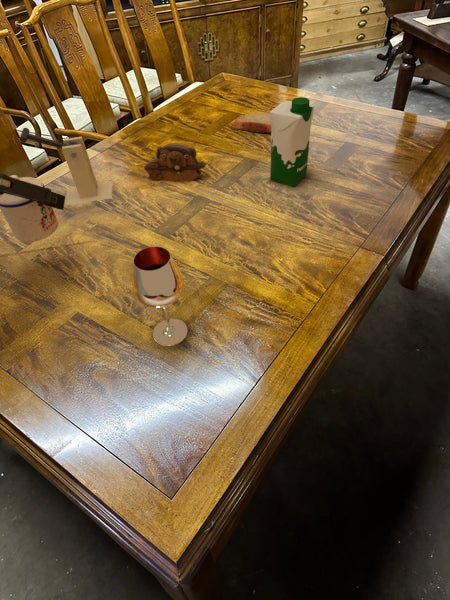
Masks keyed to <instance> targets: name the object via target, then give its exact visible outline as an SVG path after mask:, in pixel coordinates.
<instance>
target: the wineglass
mask: <svg viewBox="0 0 450 600" xmlns="http://www.w3.org/2000/svg"><path fill="white" fill-rule="evenodd" d="M131 273H132V275H131V276H132V278H131V281H132V290H133V294H134V296H135V298H137V300H138V301H139V302H140V303H141V304H143V305H144V306H146V307H149V308H152V309H162V314H163V317H164V320H161V321H160V322H158V323H157V324H156V325H155V327H154V328H153V329H152V338H153V340H154V341H155V342H156V343H157V344H158V345H160V346H163V347H174V346H178V345H179V344H180V343H182V342H184V340H185V339H186V337H187V335H188V326H187V324H186V323H185V322H184V321H183V320H181V319H178V318H170V316H169V311H168V307H169V306H171V305H173V304H175V302H177V301H178V299H179V298H180V297H181V296H182V294H183V291H184V287H185V280H184V276H183V273H182V271H181V270H180V267H179V265H178V264H177V261H176V260H175V258H174V256H173V255H172V254H171V251H169V250H168V249H167V248H166V247H163V246H160V245H159V246H157V245H151V246H147V247H144V248H142V249H140V250H139V251H137V252H136V254H134V256H133V259H132V272H131Z"/></svg>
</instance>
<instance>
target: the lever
mask: <svg viewBox="0 0 450 600" xmlns="http://www.w3.org/2000/svg"><path fill="white" fill-rule="evenodd" d="M28 140H29V141H33V142H36V143H40V144H43V145H47V146H51V147H54V148H58V149H61V150H62V147H64V146H71V145H78V144H77V143H74V142H69V145H67V144H64V142H60V141H57V140H53V139H49V138H47V137H44V136H43V137H42V136H39V135H36V134H33V133H30V129H29V128H28V127H23V128H22V131H21V133H20V136H19V142H20V143H22V144H25V143H27V141H28Z"/></svg>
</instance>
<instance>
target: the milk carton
mask: <svg viewBox="0 0 450 600" xmlns="http://www.w3.org/2000/svg"><path fill="white" fill-rule="evenodd" d="M310 102H311V101H310V99H309V98H307V97H305V96H304V97H303V96H302V97H301V96H299V97H294V98H293V99H292V100H286V99H284V100H283V101H282V102H280V103H279V104H278V105H277V106H275V107H274V108H273V109H271V110H270V111H269V112H270V118H271V133H270V140H271V141H270V172H269V173H270V176H269V177H270V178H269V180H270V181H272V182H275V183H278V184H282V185H285V186H289V187H292V188H295V187H296V186H297V185H298V184H299V183H300V182H301V181H302V180H303V179H304V178H305V177H306V176H307V174H308V172H307V171H308V163H309V162H308V161H309V150H310V138H311V127H312V122H313V116H314V111H315V105H313V104H310Z"/></svg>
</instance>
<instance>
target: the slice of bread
mask: <svg viewBox="0 0 450 600" xmlns="http://www.w3.org/2000/svg"><path fill="white" fill-rule="evenodd" d="M232 126H233V127H232V128H233V129H234V130H239V131H244V132H249V133H251V132H253V133H261V134H271V118H270V111H266V112H256V113H255V112H254V113H249V114H245V115H242V116H241V115H240V116H239V117H237V118H236V119H235V120H234V121H233V125H232ZM257 131H258V132H257ZM265 132H266V133H265Z"/></svg>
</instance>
